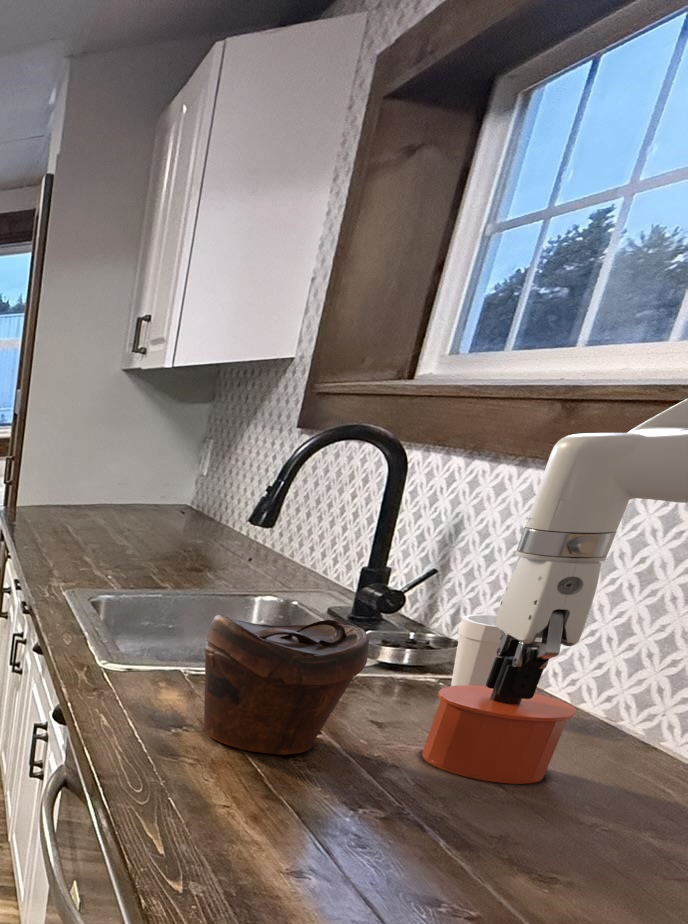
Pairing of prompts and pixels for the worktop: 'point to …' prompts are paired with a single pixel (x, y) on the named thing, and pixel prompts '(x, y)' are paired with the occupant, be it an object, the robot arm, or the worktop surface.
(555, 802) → the worktop surface
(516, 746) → the pot
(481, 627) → the foam cup
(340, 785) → the worktop surface
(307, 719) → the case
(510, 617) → the robot arm
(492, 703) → the pot lid
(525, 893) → the worktop surface
